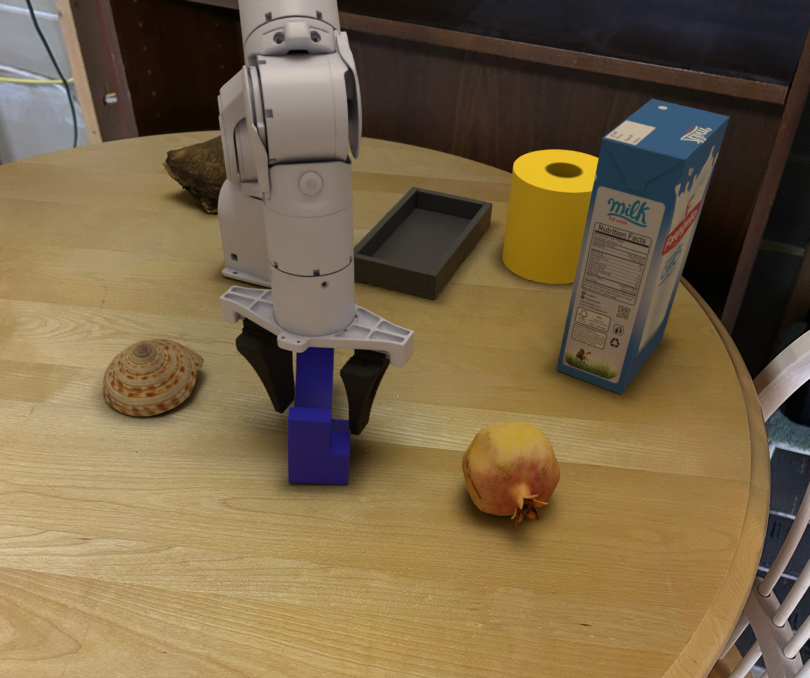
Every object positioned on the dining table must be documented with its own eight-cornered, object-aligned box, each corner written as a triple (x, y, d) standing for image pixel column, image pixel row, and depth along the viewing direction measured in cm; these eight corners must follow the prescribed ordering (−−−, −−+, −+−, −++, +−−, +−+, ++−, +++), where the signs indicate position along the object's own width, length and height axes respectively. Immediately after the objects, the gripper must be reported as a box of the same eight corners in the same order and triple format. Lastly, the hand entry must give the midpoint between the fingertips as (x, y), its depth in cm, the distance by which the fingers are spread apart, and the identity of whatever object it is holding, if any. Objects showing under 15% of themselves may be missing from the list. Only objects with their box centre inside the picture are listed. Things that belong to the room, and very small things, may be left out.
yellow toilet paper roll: (607, 250, 88) (626, 161, 81) (580, 293, 81) (599, 201, 74) (520, 229, 90) (532, 142, 83) (488, 269, 84) (498, 178, 77)
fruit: (440, 403, 59) (475, 494, 52) (530, 375, 59) (577, 462, 52) (456, 469, 64) (490, 559, 57) (539, 443, 64) (583, 531, 57)
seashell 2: (297, 165, 99) (297, 111, 93) (317, 213, 95) (319, 159, 89) (162, 180, 95) (154, 124, 89) (178, 230, 91) (170, 175, 85)
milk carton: (620, 395, 70) (685, 159, 55) (555, 370, 72) (602, 137, 57) (661, 342, 76) (730, 116, 61) (600, 321, 78) (652, 98, 63)
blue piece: (347, 485, 61) (351, 423, 57) (288, 482, 61) (287, 419, 56) (350, 389, 69) (353, 329, 65) (297, 386, 69) (297, 325, 65)
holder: (346, 278, 82) (346, 254, 80) (412, 208, 93) (412, 186, 91) (434, 300, 80) (435, 276, 78) (490, 225, 91) (492, 202, 89)
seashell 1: (221, 342, 70) (172, 357, 63) (217, 405, 72) (169, 426, 65) (137, 323, 71) (80, 336, 64) (137, 385, 74) (81, 404, 67)
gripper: (185, 259, 53) (215, 421, 63) (386, 309, 49) (384, 472, 59) (240, 215, 58) (260, 373, 67) (428, 258, 54) (420, 418, 64)
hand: (321, 416), depth 64 cm, fingers closed on blue piece, 6 cm apart
